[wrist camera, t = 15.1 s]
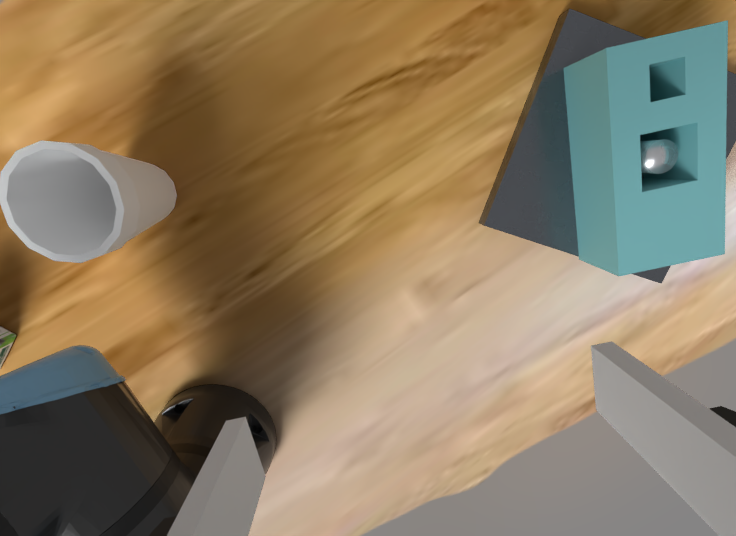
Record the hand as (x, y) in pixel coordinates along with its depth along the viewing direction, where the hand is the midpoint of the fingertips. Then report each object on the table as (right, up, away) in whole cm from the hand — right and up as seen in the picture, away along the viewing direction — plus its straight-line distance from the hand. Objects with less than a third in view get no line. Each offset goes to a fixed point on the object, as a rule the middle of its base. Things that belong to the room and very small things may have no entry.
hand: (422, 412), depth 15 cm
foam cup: (-26, +14, +29) cm, 41 cm away
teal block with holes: (+24, +17, +27) cm, 40 cm away
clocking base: (+24, +17, +29) cm, 42 cm away
